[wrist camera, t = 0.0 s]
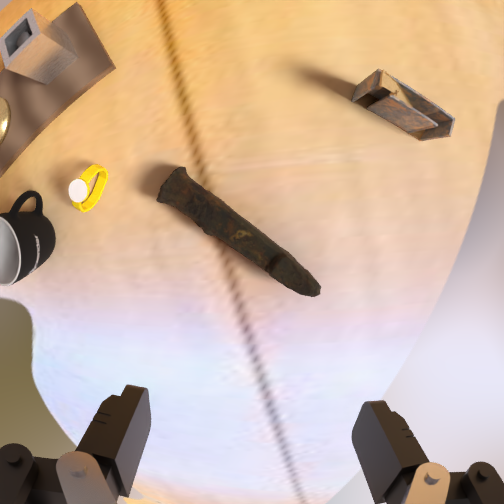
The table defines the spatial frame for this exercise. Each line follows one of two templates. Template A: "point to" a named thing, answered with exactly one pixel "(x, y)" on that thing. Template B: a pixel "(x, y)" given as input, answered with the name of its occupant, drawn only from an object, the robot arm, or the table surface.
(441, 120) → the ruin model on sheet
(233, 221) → the hand tool
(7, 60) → the open-top grey box
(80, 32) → the walnut stand board
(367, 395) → the table surface
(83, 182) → the watch
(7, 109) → the disc
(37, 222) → the mug
